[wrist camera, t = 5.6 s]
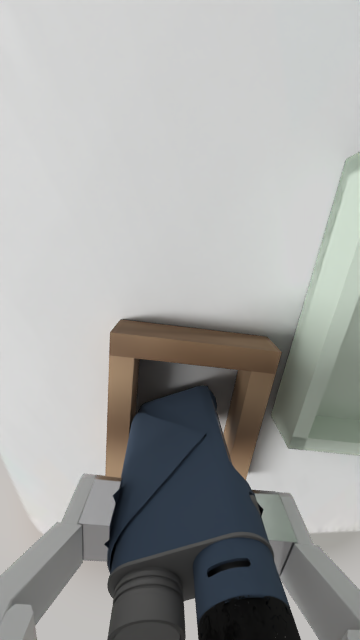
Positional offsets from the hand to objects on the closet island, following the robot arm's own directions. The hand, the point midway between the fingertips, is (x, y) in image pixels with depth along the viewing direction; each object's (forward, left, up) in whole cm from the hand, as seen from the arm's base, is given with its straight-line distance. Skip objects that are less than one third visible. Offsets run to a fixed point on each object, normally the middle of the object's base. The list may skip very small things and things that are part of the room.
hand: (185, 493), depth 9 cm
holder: (0, 0, -6) cm, 6 cm away
